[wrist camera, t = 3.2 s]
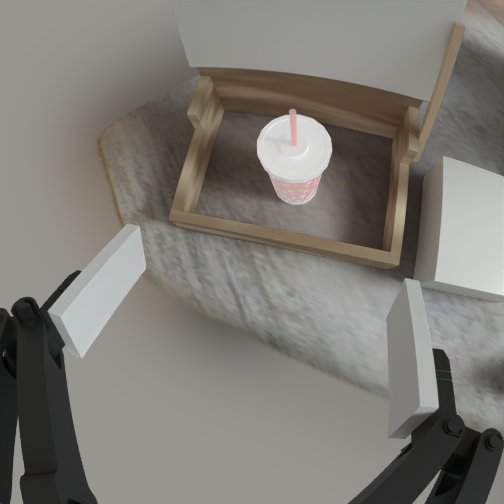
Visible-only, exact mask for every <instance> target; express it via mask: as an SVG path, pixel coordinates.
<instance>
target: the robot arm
mask: <svg viewBox="0 0 504 504" xmlns="http://www.w3.org/2000/svg"><path fill="white" fill-rule="evenodd" d="M145 269H146V262H145V256H144V250H143V244H142V238H141V232H140V226H138V225H132V224H126V225H125V226H124V227H123V228H122V229H121V230H120V232H119V233H118V234H117V235H116V236H115V237H114V238H113V239H112V240H111V241H110V242H109V243H108V244H107V245H106V246H105V247H104V248H103V249H102V250H101V251H100V252H99V253H98V254H97V256H96V257H95V258H94V259H93V260H92V261H91V262H90V263H89V264H88V265H87V266H86V267H85V269H84V270H83V271H79V270H77V271H76V272H74V273H72V274H71V275H69V276H68V277H67V278H66V279H65V280H64V282H63V283H62V285H60V286H59V287H58V288H57V290H56V291H55V292H54V293H53V294H52V295H51V296H50V297H49V299H48V300H47V301H46V302H45V303H44V304H43V306H42V307H41V308H40V309H39V307H38V305H37V303H36V301H35V300H34V299H33V298H31V297H23V298H21V299H19V300H18V301H17V302H15V303H14V305H13V306H12V309H11V312H12V314H13V316H14V317H11V316H10V315H9V313H8V312H7V310H6V309H4V308H0V504H10V500H11V492H12V472H13V457H14V445H15V435H16V427H17V418H19V429H20V439H21V447H22V454H23V461H24V468H25V473H24V475H23V476H21V478H20V489H21V493H22V499H23V503H24V504H98V503H97V500H96V498H95V496H94V495H93V493H92V492H91V490H90V488H89V486H88V483H87V480H86V476H85V473H84V469H83V465H82V461H81V457H80V453H79V449H78V444H77V440H76V435H75V430H74V425H73V420H72V414H71V408H70V402H69V396H68V388H67V381H66V373H65V364H64V355H63V351H62V348H63V347H64V346H66V347H67V349H68V351H69V353H71V354H73V355H75V356H78V357H80V358H83V356H84V355H85V353H86V352H87V350H88V349H89V347H90V346H91V344H92V343H93V341H94V340H95V338H96V337H97V336H98V334H99V333H100V331H101V330H102V328H103V327H104V325H105V324H106V323H107V321H108V320H109V318H110V317H111V316H112V314H113V313H114V311H115V310H116V308H117V307H118V305H119V304H120V303H121V301H122V300H123V299H124V297H125V296H126V295H127V293H128V292H129V291H130V289H131V288H132V286H133V285H134V284H135V282H136V281H137V280H138V278H139V277H140V276H141V274H142V273H143V272H144V270H145ZM386 322H387V339H388V365H389V423H388V438H398V439H405V438H407V437H408V436H409V435H410V434H411V438H412V439H411V440H412V441H411V443H409V444H408V445H407V446H406V447H404V448H403V449H402V450H401V451H402V452H401V453H400V454H399V455H398V456H397V457H396V458H395V460H393V461H392V463H391V464H390V465H389V466H388V467H387V468H386V469H385V470H384V471H383V472H382V473H381V474H380V475H379V476H378V477H377V478H376V479H374V480H373V481H372V482H371V483H370V484H369V485H368V486H367V487H366V488H365V489H364V490H363V491H362V492H361V493H359V494H358V495H357V496H356V497H355V498H354V499H353V500H351V501H350V502H349V503H348V504H412V503H413V502H414V501H415V500H416V498H417V497H418V496H419V495H420V494H421V493H422V491H423V490H424V489H425V488H426V487H427V485H428V484H429V483H430V482H431V481H432V479H433V478H434V477H435V476H436V474H437V473H438V472H439V470H440V469H441V472H440V474H439V476H438V478H437V481H436V483H435V485H434V487H433V489H432V491H431V493H430V495H429V497H428V498H427V500H426V502H425V504H485V503H486V500H487V498H488V495H489V492H490V490H491V487H492V484H493V481H494V478H495V475H496V472H497V469H498V466H499V462H500V459H501V456H502V452H503V448H504V440H503V437H502V435H501V433H500V432H499V431H497V430H496V429H493V428H490V429H486V430H485V431H484V432H483V433H480V432H478V431H475V430H473V429H470V428H468V427H466V426H465V424H464V422H463V420H462V419H461V417H460V416H459V415H457V413H456V407H455V398H454V390H453V383H452V376H451V373H450V371H451V369H450V363H449V359H448V357H447V355H446V354H445V352H444V350H441V349H433V348H432V344H431V338H430V332H429V326H428V320H427V315H426V310H425V305H424V300H423V295H422V290H421V286H420V281H418V280H413V279H408V278H405V279H404V281H403V284H402V286H401V288H400V290H399V292H398V295H397V297H396V299H395V301H394V303H393V305H392V308H391V310H390V312H389V314H388V316H387V318H386ZM4 352H5V353H4ZM3 353H4V355H3ZM18 416H19V417H18Z"/></svg>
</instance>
